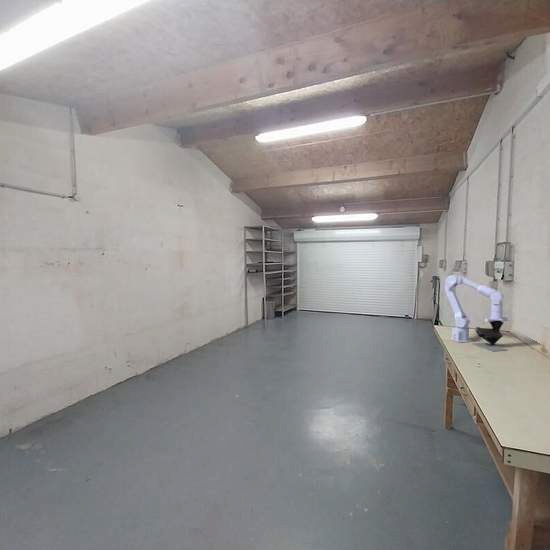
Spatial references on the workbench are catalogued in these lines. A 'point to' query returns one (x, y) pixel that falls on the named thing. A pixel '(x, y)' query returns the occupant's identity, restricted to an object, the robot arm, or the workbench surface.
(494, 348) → the mat
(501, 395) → the workbench surface
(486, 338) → the phone stand
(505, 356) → the workbench surface
